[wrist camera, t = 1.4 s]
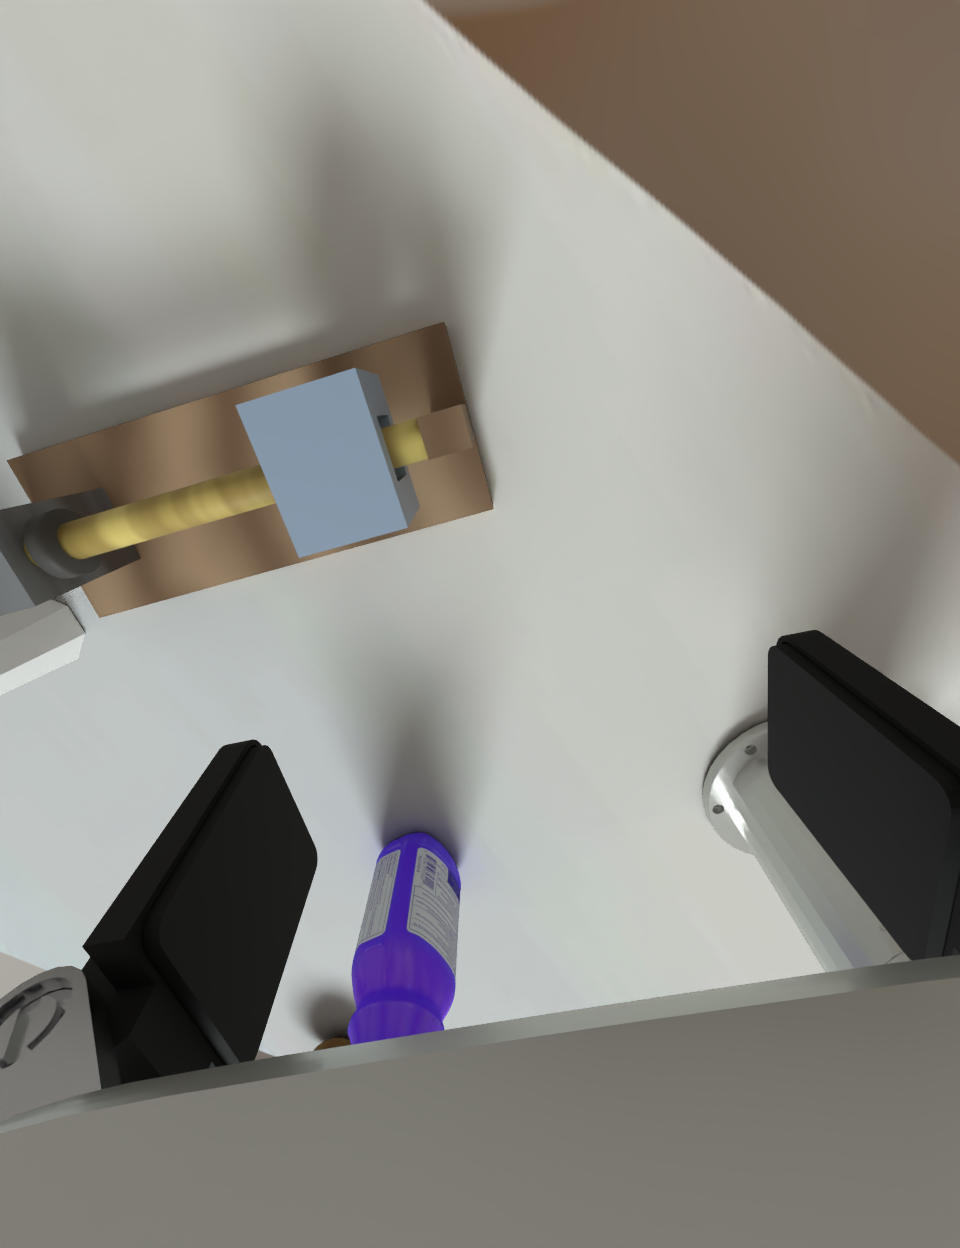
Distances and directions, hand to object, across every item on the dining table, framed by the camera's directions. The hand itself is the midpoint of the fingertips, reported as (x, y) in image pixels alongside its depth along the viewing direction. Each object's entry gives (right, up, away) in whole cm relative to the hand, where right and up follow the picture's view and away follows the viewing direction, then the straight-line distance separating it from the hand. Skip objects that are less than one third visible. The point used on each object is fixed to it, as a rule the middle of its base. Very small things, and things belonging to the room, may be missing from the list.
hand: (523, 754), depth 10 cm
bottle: (-6, -17, +34) cm, 38 cm away
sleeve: (-7, +11, +17) cm, 21 cm away
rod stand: (-14, +11, +22) cm, 28 cm away
